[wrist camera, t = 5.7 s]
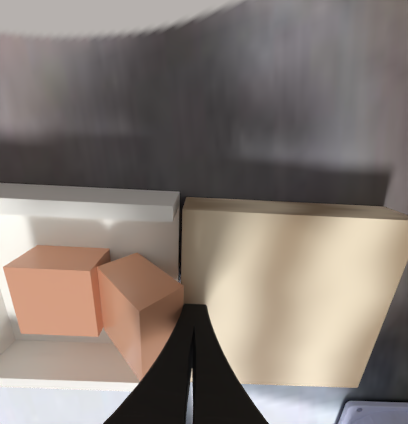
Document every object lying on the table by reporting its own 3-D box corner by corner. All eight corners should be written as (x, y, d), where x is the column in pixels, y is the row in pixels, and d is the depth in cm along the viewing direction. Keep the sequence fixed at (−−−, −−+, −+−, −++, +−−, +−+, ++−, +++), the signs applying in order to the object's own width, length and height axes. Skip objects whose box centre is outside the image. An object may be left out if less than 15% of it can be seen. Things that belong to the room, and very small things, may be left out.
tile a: (183, 286, 11) (139, 311, 9) (181, 352, 12) (142, 385, 11) (137, 252, 14) (96, 266, 12) (139, 309, 15) (103, 329, 14)
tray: (179, 191, 13) (172, 206, 10) (177, 350, 17) (171, 392, 14) (-40, 180, 13) (-110, 192, 10) (10, 343, 17) (-30, 386, 14)
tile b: (109, 248, 14) (89, 271, 11) (114, 306, 15) (98, 336, 13) (37, 245, 14) (2, 266, 11) (49, 303, 15) (21, 333, 13)
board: (383, 206, 13) (423, 221, 11) (336, 353, 17) (357, 387, 15) (186, 196, 13) (182, 209, 11) (182, 347, 17) (178, 381, 14)
